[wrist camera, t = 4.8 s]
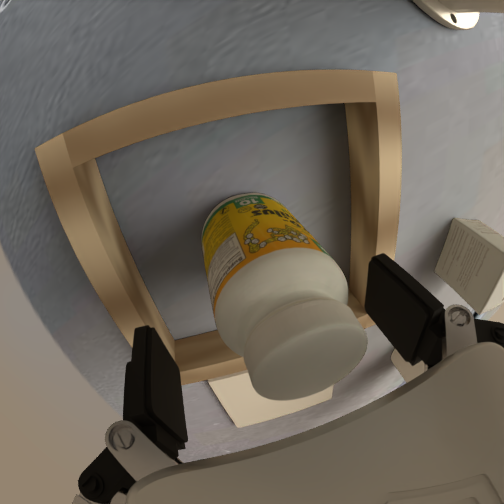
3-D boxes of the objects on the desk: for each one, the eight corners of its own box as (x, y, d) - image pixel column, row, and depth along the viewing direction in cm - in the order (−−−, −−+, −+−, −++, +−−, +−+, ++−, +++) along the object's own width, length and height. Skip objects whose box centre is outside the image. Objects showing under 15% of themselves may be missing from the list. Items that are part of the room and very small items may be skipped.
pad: (207, 377, 22) (208, 382, 21) (335, 337, 23) (338, 342, 23) (236, 424, 28) (237, 428, 28) (329, 394, 30) (331, 398, 29)
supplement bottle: (184, 252, 16) (196, 403, 7) (232, 172, 14) (304, 278, 6) (259, 283, 18) (315, 412, 10) (307, 216, 16) (409, 325, 8)
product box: (479, 218, 21) (527, 252, 15) (460, 267, 24) (502, 304, 18) (452, 216, 20) (510, 256, 13) (431, 272, 23) (479, 317, 16)
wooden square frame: (61, 139, 10) (34, 148, 8) (363, 74, 12) (396, 73, 10) (163, 357, 20) (163, 388, 17) (363, 297, 21) (382, 320, 19)
